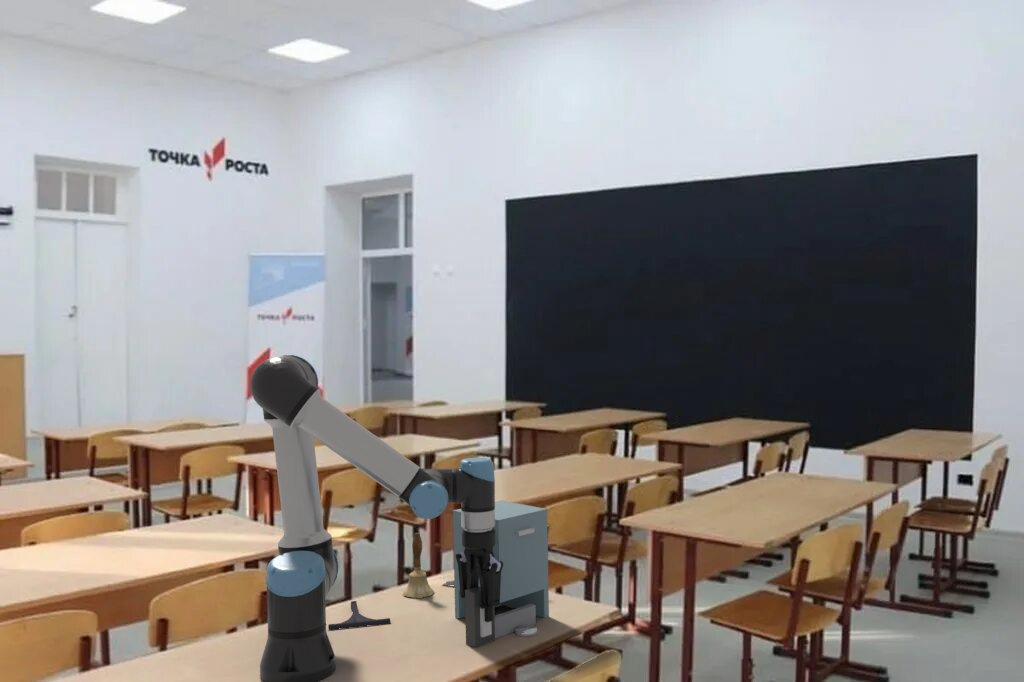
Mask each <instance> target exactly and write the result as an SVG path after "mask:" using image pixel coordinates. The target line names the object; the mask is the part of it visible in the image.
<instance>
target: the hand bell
mask: <svg viewBox="0 0 1024 682" xmlns="http://www.w3.org/2000/svg"><path fill="white" fill-rule="evenodd" d="M413 536H414V537H413V539H412V543H411V544H412V552H413V555H414V562H413V563H414V566H413V567H414V569H413V571H412V572H410V573H409V575H408V582H407V583H408V584H407V586H406V588H405V589H404V590H403V592H402V596H403V595H404V596H403V597H405V596H407V597H413V598H412V599H422V598H423V597H424V598H428V597H431V596H433V595H434V593H435V591H434V589H433V588H431V586H430V584H429V582H428V578H427V577H428V575H427V573H426V571H424V570H422V564H421V557H422V552H423V539H422V537H421V534H420V533H419V532H415V533H414V535H413ZM407 597H406V598H407Z"/></svg>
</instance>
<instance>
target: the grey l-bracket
mask: <svg viewBox="0 0 1024 682" xmlns="http://www.w3.org/2000/svg"><path fill="white" fill-rule="evenodd" d="M481 605H482V597H481V588H480V586H478V587H475V588H471V589H468V590H465V617H464V618H465V645H467V646H470V647H472V648H477V647H481V646H483V645H486V644H489V643H491V642H495V641H496V639H498V638H501V637H503V636H506V635H509V633H510V634H513V633H515V628H516V627H517V626H520V625H533V626H535V625H537V620H536V619H537V617H536V605H534V604H529V605H526V606H523V607H520V608H517V609H514V608H513V609H511V610H508V611H506V612H502V613H498V614H496V615H495V608H494V606H493V620H492V621H491V623H492V634H491V635H488V636H485V637H480V606H481ZM494 640H495V641H494Z"/></svg>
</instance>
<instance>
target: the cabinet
mask: <svg viewBox="0 0 1024 682" xmlns="http://www.w3.org/2000/svg"><path fill="white" fill-rule="evenodd" d="M452 525H453V531H452V532H453V572H454V574H453V575H454V576H453V578H454V579H453V580H454V586H453V587H454V618H455V617H456V618H455V619H457V618H459V619H458V620H461V619H464V618H465V598H461V596H460V585H459V571H458V563H457V560H456V554H459V553H463V552H464V549H465V547H463V546H462V530H463V529H464V528H462V527H461V508H459V509H453V510H452ZM493 528H494V529H495V535H496V544H495V545H494V547H493V553H494V558H495V559H496V560H497V561H498V562H500V561H502V562H503V568H502V571H501V586H500V603H499V604H498V605H495V606H494V609H496V608H498V606H499V607H502V606H504V605H505V607H507V606H509V607H508V608H511V607H512V608H511V609H514V608H515V609H517V608H520V607H523V606H526V605H529V604H534V605H536V616H537V617H540V618H543V619H546V618H549V617H550V605H549V604H550V603H549V602H550V599H549V594H550V593H549V552H548V551H549V545H548V543H549V542H548V541H549V540H548V535H549V534H548V509H547V508H543V507H538V506H534V505H527V504H523V503H517V502H511V501H508V500H507V501H506V500H497V501H495V526H494V527H493ZM483 572H484V571H483ZM478 586H480V580H479V584H478ZM501 605H502V606H501ZM495 607H496V608H495ZM463 617H464V618H463ZM460 618H461V619H460Z"/></svg>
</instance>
